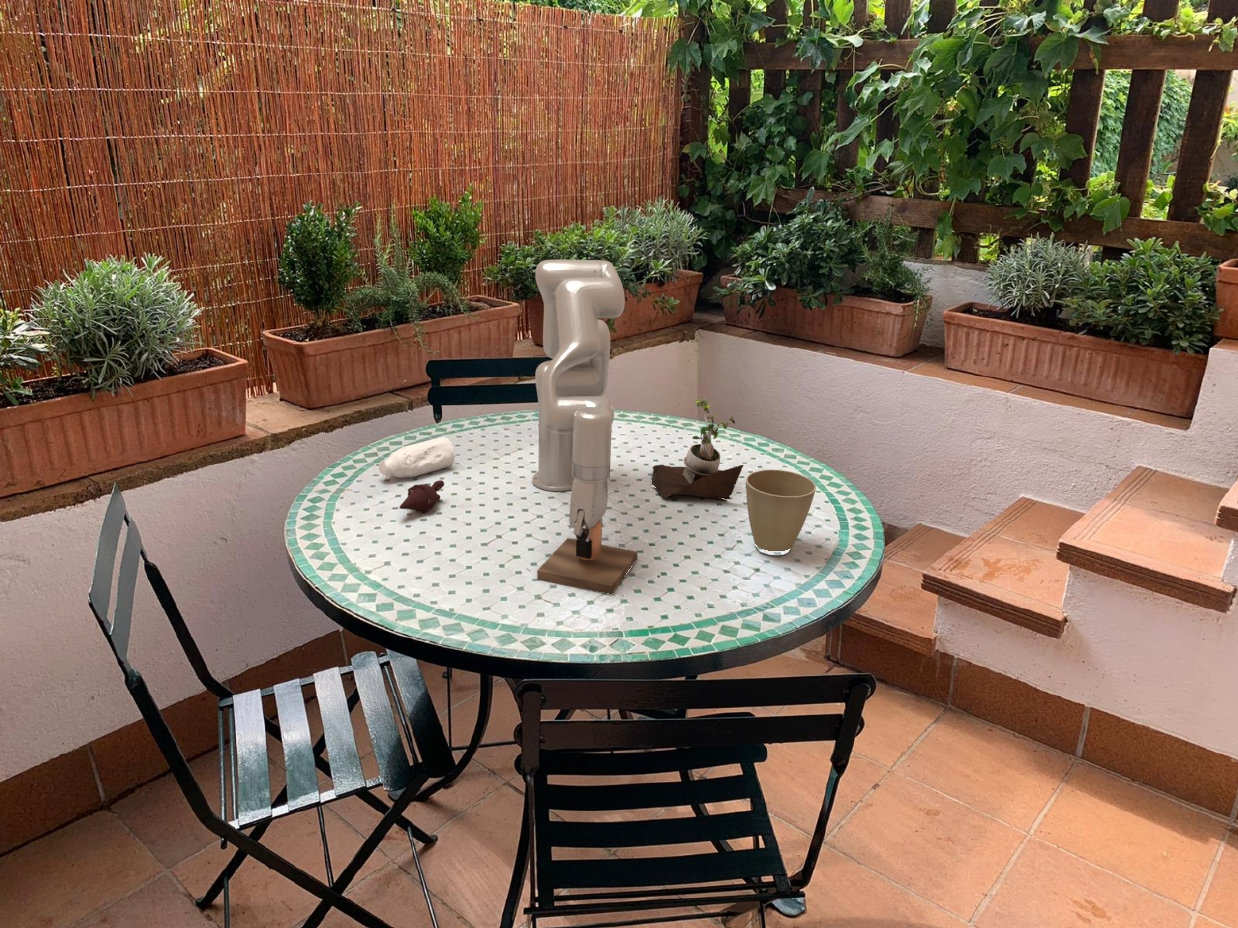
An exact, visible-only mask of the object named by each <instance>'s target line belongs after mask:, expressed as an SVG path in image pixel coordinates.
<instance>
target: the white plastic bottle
mask: <svg viewBox="0 0 1238 928" xmlns="http://www.w3.org/2000/svg"><path fill="white" fill-rule="evenodd" d="M455 458H456V455H455V450H454V444H453V443H452V442H451V440H449V439H448V438H447V437H446V436H445V437H443V436H440V437H439V438H438V437H437V438H434V439H430V440H426V441H421V442H417V443H414V444H410V445H405V446H402V447H400V448H398V449H397V450H395V451H392V452H391V454H389V456H388V458H386V460H382V461H380V462H379V463H378V470H379V472H380V473H381V474H382V475H383V476H385V479H390V478H391V476H393V477H395V478H398V479H399V478H404V479H406V478H408V479H410V478H414V477H417V476H421V475H425V474H429V473H432V472H436V471H439V470H442V469H446V468H451V467H452V466H453V464H454V463H455Z"/></svg>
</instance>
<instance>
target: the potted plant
mask: <svg viewBox="0 0 1238 928" xmlns="http://www.w3.org/2000/svg"><path fill="white" fill-rule="evenodd" d="M695 403H696V406H697V407H700V408H703V410H704V411H703V412H704V422H705V424H706V426H703V427H701V429H700V436H698V435H694V436H692V437H691V439H693V440H701V443H696V444H692V445H690V447H689V449H688V451H687V453H686V456H685V457H683V465H684V466H670V465H664V464H655V465H654V466H652V469H651V470H653V471H652V475H651V480H652V484H653V485H654V486H655V487H656V488H655V490H656V491H657V493H658V492H659V493H658V495H659V494H661V495H660V496H661V497H662V498H668V497H670V496H673V495H674V496H675V495H683V496H695V497H705V498H710V497H711V499H716V498H724V499H729V500H730V499H731V497H730V496H731V495H732V494H733V492H734V489H735V487H736V484H737V483H738V480H739V477H740V475H741V472H742V469H743V468H744V464H739V465H738V466H735V467H730V468H727V469H724V470H722V469H719V468H720V464H721V453H720V452H719V450H717V449H716V448H714V447H715V446H714V445H713V444H712V439H713V440H715V439H717V438H718V436H719V434H720V433H719V431H718V430H719V429H720V428H723V429H725V430H727V429H728V425H730V424H731V423H732V424H734V425H735V424H736V422H735V419H734V416H730V418H729V419H728V422H726V423H725V422H724V421H720V423H721V424H720V423H718V424H716V427H715V424H714V419H715V418H714V416H713V415H711V416H710V415H707V414H710V410H709V408H710V407H711V405H708V401H707V400H706V398H703V399H701V398H700V399H695ZM708 419H711V423H708ZM712 436H713V438H712Z"/></svg>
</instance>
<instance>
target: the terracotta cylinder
mask: <svg viewBox="0 0 1238 928" xmlns="http://www.w3.org/2000/svg"><path fill="white" fill-rule="evenodd" d="M583 525H588V524H586V523H584V524H583ZM582 531H583V532H585V533H586V534H587V529H582ZM601 535H602V536H603V526H602V523H601V522H600V521H598V522H597V524H596V525H595V526H594V527H592V530H591V538H590V540H592V557H591V558H590V559H587V558H582V557H579V558H581V559H584V560H595V559H598V558H599V557H600V556H601Z"/></svg>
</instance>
